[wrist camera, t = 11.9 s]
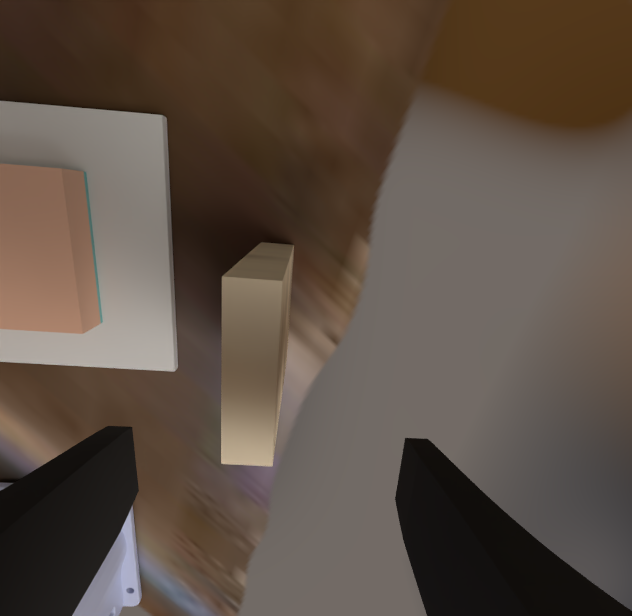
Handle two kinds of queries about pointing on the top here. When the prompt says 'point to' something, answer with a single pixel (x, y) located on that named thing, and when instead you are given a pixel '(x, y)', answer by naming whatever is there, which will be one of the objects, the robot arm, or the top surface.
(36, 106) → the mat
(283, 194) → the top surface
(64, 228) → the tile
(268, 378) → the beige upright block
